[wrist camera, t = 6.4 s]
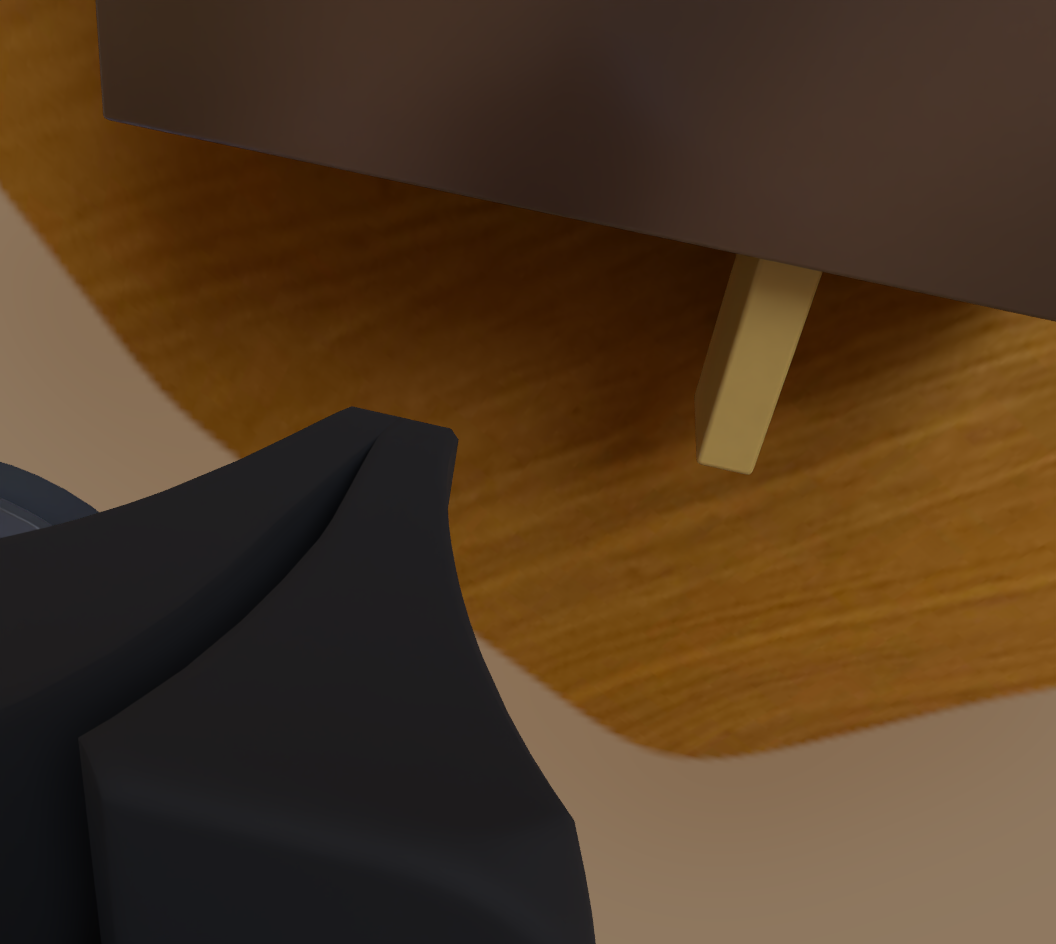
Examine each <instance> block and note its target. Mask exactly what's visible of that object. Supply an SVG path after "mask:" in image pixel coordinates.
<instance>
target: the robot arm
mask: <svg viewBox="0 0 1056 944" xmlns="http://www.w3.org/2000/svg"><path fill="white" fill-rule="evenodd" d="M457 446H458V438H457V437H456V435H455V434H454V432H453V431H452V430H451V429H450V428H445V427H441V426H437V425H432V424H428V423H423V422H419V421H414V420H410V419H406V418H401V417H397V416H392V415H388V414H383V413H379V412H374V411H370V410H366V409H361V408H357V407H349V408H347V409H344V410H342V411H339V412H337V413H335V414H333V415H331V416H329V417H327V418H325V419H323V420H320V421H318V422H316V423H314V424H312V425H310V426H308V427H306V428H304V429H302V430H300V431H298V432H296V433H294V434H292V435H290V436H288V437H286V438H284V439H282V440H280V441H278V442H276V443H274V444H271V445H269V446H267V447H265V448H263V449H261V450H259V451H257V452H255V453H253V454H251V455H248V456H246V457H244V458H242V459H240V460H238V461H235V462H233V463H231V464H228V465H226V466H223V467H221V468H219V469H216V470H214V471H212V472H209V473H207V474H204V475H202V476H199V477H197V478H194V479H192V480H190V481H187V482H185V483H182V484H180V485H178V486H175V487H173V488H170V489H168V490H165V491H163V492H160V493H157V494H154V495H152V496H149V497H146V498H143V499H140V500H138V501H135V502H131V503H129V504H126V505H123V506H119V507H116V508H113V509H110V510H106V511H103V512H100V513H96V514H93V515H90V516H87V517H83V518H80V519H77V520H73V521H69V522H66V523H62V524H59V525H54V526H50V527H46V528H41V529H37V530H33V531H28V532H24V533H20V534H16V535H11V536H7V537H3V538H0V944H596V943H595V934H594V926H593V918H592V911H591V905H590V899H589V893H588V887H587V882H586V875H585V871H584V866H583V861H582V856H581V852H580V846H579V841H578V836H577V832H576V827H575V822H574V820H573V818H572V817H571V815H570V814H569V813H568V811H567V809H566V808H565V806H564V805H563V803H562V802H561V801H560V799H559V798H558V796H557V795H556V793H555V792H554V790H553V789H552V787H551V786H550V784H549V783H548V781H547V779H546V778H545V776H544V775H543V773H542V771H541V770H540V768H539V767H538V765H537V763H536V762H535V760H534V759H533V757H532V755H531V754H530V752H529V750H528V748H527V747H526V745H525V743H524V741H523V739H522V738H521V736H520V734H519V732H518V731H517V729H516V727H515V725H514V723H513V721H512V719H511V718H510V716H509V714H508V712H507V710H506V708H505V706H504V703H503V701H502V699H501V697H500V694H499V692H498V690H497V688H496V686H495V683H494V681H493V679H492V677H491V675H490V673H489V670H488V668H487V666H486V664H485V662H484V659H483V657H482V654H481V652H480V649H479V646H478V644H477V641H476V638H475V635H474V632H473V629H472V626H471V624H470V621H469V617H468V614H467V611H466V607H465V604H464V600H463V597H462V593H461V589H460V585H459V581H458V577H457V572H456V568H455V562H454V557H453V551H452V545H451V539H450V531H449V521H448V504H449V497H450V491H451V485H452V478H453V472H454V465H455V459H456V452H457Z"/></svg>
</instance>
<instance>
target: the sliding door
mask: <svg viewBox="0 0 1056 944" xmlns="http://www.w3.org/2000/svg"><path fill="white" fill-rule="evenodd" d="M821 275H822V272H821V271H816V270H811V269H806V268H802V267H797V266H792V265H788V264H783V263H778V262H774V261H769V260H764V259H759V258H755V257H750V256H745V255H741V254H736V257H735V260H734V264H733V267H732V271H731V274H730V277H729V281H728V284H727V287H726V291H725V294H724V298H723V301H722V304H721V308H720V311H719V314H718V318H717V321H716V325H715V328H714V331H713V335H712V338H711V342H710V345H709V348H708V352H707V355H706V358H705V362H704V365H703V369H702V372H701V375H700V379H699V382H698V385H697V389H696V392H695V396H694V400H695V429H696V458H697V462H698V463H699V464H702V465H706V466H710V467H715V468H719V469H724V470H728V471H733V472H737V473H742V474H746V475H748V474H751V473H752V471H753V470H754V467H755V464H756V461H757V458H758V455H759V452H760V450H761V447H762V444H763V441H764V438H765V435H766V432H767V430H768V427H769V424H770V421H771V418H772V415H773V412H774V410H775V407H776V404H777V401H778V398H779V395H780V392H781V389H782V387H783V384H784V381H785V378H786V375H787V372H788V369H789V367H790V364H791V361H792V358H793V355H794V352H795V349H796V347H797V344H798V341H799V338H800V335H801V332H802V329H803V327H804V324H805V321H806V318H807V315H808V312H809V309H810V307H811V304H812V301H813V298H814V295H815V292H816V289H817V287H818V284H819V281H820V278H821Z"/></svg>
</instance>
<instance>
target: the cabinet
mask: <svg viewBox="0 0 1056 944" xmlns="http://www.w3.org/2000/svg"><path fill="white" fill-rule="evenodd" d="M96 13H97V28H98V43H99V58H100V73H101V87H102V102H103V115H104V118H106V119H108V120H111V121H116V122H120V123H125V124H130V125H134V126H139V127H144V128H148V129H153V130H158V131H163V132H167V133H172V134H177V135H181V136H186V137H191V138H195V139H200V140H205V141H210V142H214V143H219V144H224V145H228V146H233V147H238V148H242V149H247V150H252V151H257V152H261V153H266V154H271V155H275V156H280V157H285V158H289V159H294V160H299V161H304V162H308V163H313V164H318V165H322V166H327V167H332V168H336V169H341V170H346V171H351V172H355V173H360V174H365V175H369V176H374V177H379V178H383V179H388V180H393V181H398V182H402V183H407V184H412V185H416V186H421V187H426V188H430V189H435V190H440V191H445V192H449V193H454V194H459V195H463V196H468V197H473V198H477V199H482V200H487V201H492V202H496V203H501V204H506V205H510V206H515V207H520V208H524V209H529V210H534V211H539V212H543V213H548V214H553V215H557V216H562V217H567V218H571V219H576V220H581V221H586V222H590V223H595V224H600V225H604V226H609V227H614V228H618V229H623V230H628V231H633V232H637V233H642V234H647V235H651V236H656V237H661V238H665V239H670V240H675V241H680V242H684V243H689V244H694V245H698V246H703V247H708V248H712V249H717V250H722V251H727V252H731V253H736V254H741V255H745V256H750V257H755V258H759V259H764V260H769V261H774V262H778V263H783V264H788V265H792V266H797V267H802V268H806V269H811V270H816V271H821V272H825V273H830V274H835V275H839V276H844V277H849V278H853V279H858V280H863V281H868V282H872V283H877V284H882V285H886V286H891V287H896V288H900V289H905V290H910V291H915V292H919V293H924V294H929V295H933V296H938V297H943V298H947V299H952V300H957V301H962V302H966V303H971V304H976V305H980V306H985V307H990V308H994V309H999V310H1004V311H1009V312H1013V313H1018V314H1023V315H1027V316H1032V317H1037V318H1041V319H1046V320H1051V321H1056V0H96Z"/></svg>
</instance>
